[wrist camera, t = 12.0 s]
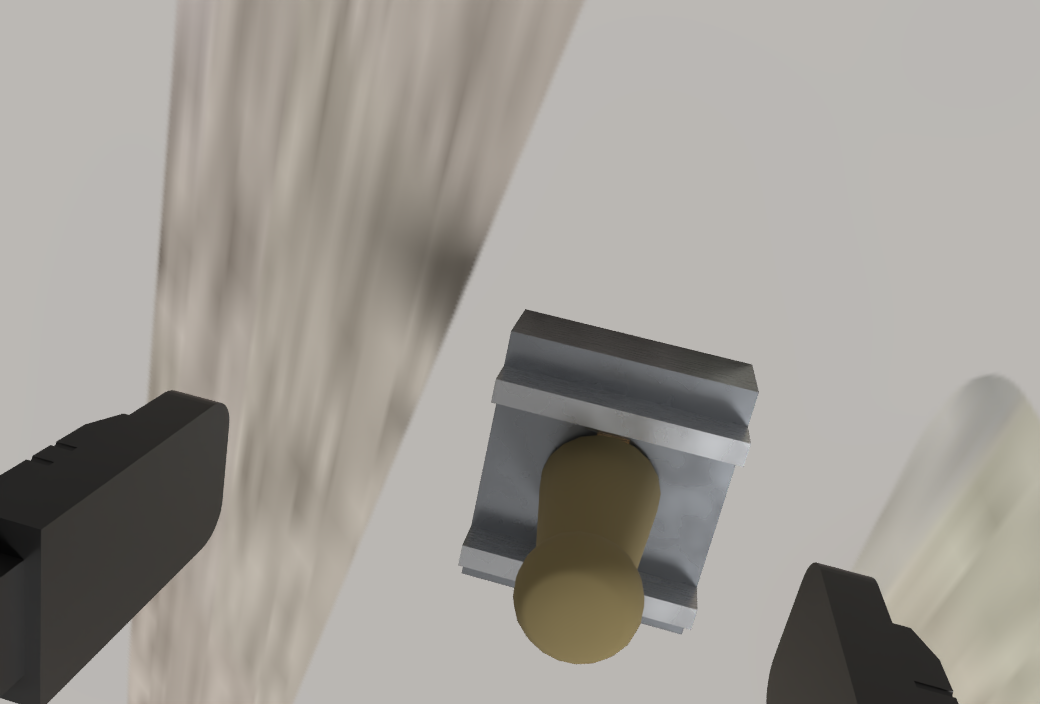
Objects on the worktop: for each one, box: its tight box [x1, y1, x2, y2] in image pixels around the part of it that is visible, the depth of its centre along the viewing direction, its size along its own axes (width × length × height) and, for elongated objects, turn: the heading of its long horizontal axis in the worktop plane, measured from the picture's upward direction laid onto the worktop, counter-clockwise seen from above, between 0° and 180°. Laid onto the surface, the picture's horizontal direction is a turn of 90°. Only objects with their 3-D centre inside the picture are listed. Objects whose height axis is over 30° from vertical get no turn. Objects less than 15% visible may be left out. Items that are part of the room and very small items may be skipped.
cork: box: [513, 435, 661, 664], centre depth 38 cm, size 6×6×11 cm
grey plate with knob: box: [458, 309, 759, 634], centre depth 44 cm, size 14×12×6 cm
